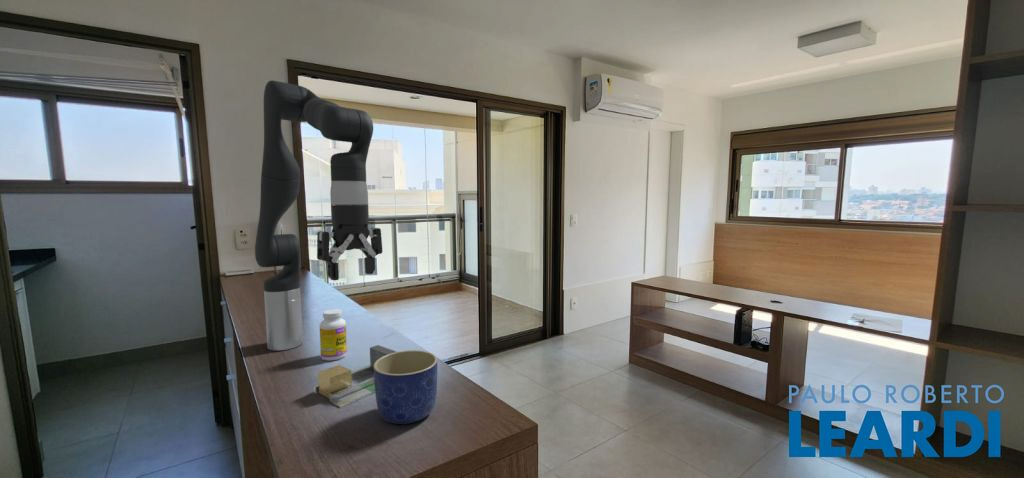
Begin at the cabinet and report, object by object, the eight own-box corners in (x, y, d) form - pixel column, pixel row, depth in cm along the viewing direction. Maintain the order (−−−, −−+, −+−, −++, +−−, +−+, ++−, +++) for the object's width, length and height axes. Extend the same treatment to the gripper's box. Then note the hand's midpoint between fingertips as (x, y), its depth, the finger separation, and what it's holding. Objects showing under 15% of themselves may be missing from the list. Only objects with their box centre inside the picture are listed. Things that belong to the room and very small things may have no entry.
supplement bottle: (337, 362, 106) (335, 315, 105) (315, 360, 108) (313, 314, 107) (352, 353, 113) (350, 308, 112) (331, 351, 114) (329, 307, 113)
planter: (405, 438, 73) (404, 380, 72) (361, 418, 79) (359, 365, 78) (450, 408, 83) (449, 357, 82) (408, 393, 90) (407, 346, 89)
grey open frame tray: (313, 392, 90) (312, 367, 89) (378, 367, 103) (378, 345, 103) (340, 407, 83) (338, 379, 83) (405, 378, 97) (405, 354, 96)
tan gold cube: (318, 392, 89) (317, 372, 89) (339, 384, 93) (339, 364, 93) (339, 404, 84) (338, 382, 84) (360, 395, 88) (360, 374, 88)
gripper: (367, 202, 94) (370, 270, 96) (308, 202, 82) (311, 280, 84) (388, 202, 90) (390, 273, 91) (327, 203, 78) (331, 284, 80)
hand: (352, 276), depth 88 cm, fingers open, 8 cm apart
